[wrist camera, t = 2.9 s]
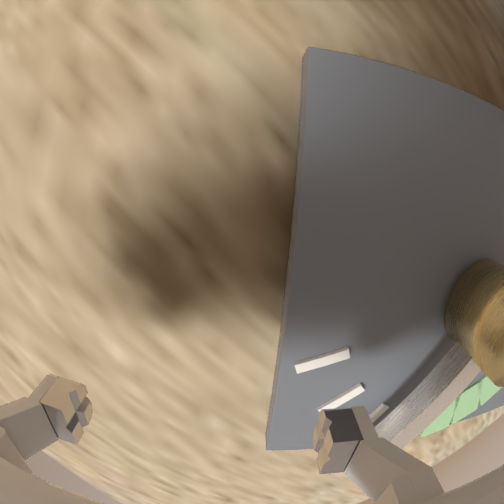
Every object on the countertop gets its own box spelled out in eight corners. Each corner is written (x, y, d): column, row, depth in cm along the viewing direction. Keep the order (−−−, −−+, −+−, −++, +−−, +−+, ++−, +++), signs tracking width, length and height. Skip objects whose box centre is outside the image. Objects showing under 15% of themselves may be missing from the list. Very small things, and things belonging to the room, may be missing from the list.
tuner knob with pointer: (481, 241, 10) (543, 269, 7) (513, 286, 11) (562, 317, 7) (319, 432, 13) (334, 493, 9) (372, 447, 14) (391, 498, 10)
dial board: (302, 57, 10) (309, 44, 8) (562, 155, 10) (575, 157, 9) (264, 438, 15) (265, 455, 14) (494, 400, 16) (502, 409, 14)
